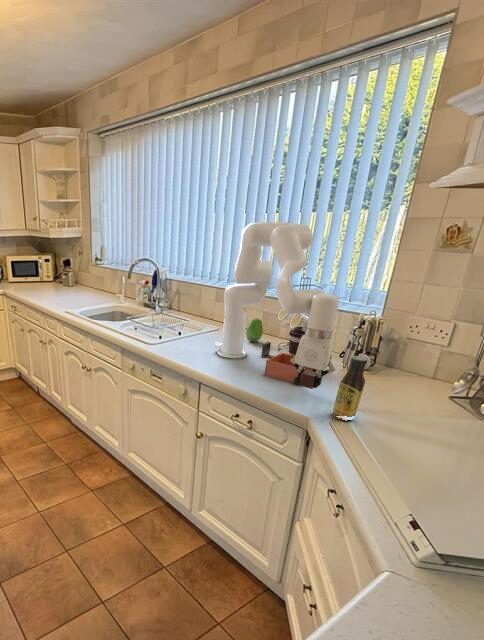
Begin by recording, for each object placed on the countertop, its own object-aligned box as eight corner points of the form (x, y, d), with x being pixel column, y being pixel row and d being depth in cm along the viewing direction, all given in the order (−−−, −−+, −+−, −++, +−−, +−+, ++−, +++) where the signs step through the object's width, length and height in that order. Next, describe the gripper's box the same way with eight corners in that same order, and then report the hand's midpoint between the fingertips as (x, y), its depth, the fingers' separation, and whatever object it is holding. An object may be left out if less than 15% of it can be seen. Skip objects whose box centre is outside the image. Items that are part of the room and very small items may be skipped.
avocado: (262, 344, 195) (265, 320, 191) (245, 343, 197) (248, 319, 192) (260, 339, 202) (263, 316, 198) (244, 339, 204) (247, 316, 200)
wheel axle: (293, 384, 147) (294, 377, 146) (310, 373, 157) (312, 367, 156) (298, 386, 146) (300, 379, 145) (316, 374, 156) (317, 368, 155)
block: (298, 385, 135) (300, 373, 133) (304, 381, 137) (306, 369, 136) (312, 389, 132) (314, 376, 130) (317, 385, 134) (320, 373, 133)
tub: (253, 372, 159) (257, 346, 155) (269, 364, 168) (272, 339, 163) (297, 383, 147) (302, 355, 143) (312, 374, 156) (317, 348, 151)
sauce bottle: (327, 415, 124) (340, 355, 116) (341, 411, 126) (355, 352, 118) (345, 424, 118) (360, 362, 110) (360, 420, 120) (376, 359, 112)
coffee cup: (286, 365, 167) (292, 330, 161) (283, 357, 176) (288, 325, 170) (312, 366, 164) (318, 331, 159) (307, 359, 173) (313, 326, 168)
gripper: (287, 330, 130) (279, 381, 138) (342, 341, 119) (330, 395, 126) (297, 326, 135) (288, 375, 142) (351, 336, 124) (338, 388, 131)
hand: (308, 384), depth 134 cm, fingers closed on block, 4 cm apart
